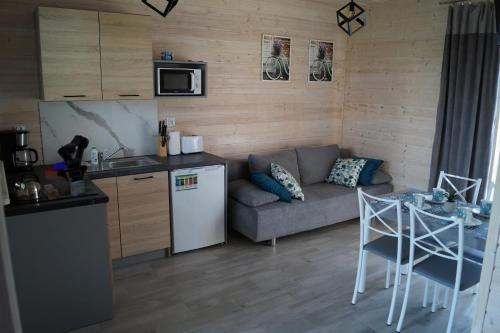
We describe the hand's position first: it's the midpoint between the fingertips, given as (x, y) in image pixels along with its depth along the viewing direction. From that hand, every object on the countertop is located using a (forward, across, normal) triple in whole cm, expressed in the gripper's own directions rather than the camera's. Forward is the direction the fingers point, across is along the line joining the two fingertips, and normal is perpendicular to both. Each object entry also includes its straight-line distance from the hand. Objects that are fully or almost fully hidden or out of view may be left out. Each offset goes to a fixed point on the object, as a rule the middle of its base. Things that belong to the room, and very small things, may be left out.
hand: (75, 180), depth 271 cm
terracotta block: (-2, -14, +15) cm, 21 cm away
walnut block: (+7, -15, +6) cm, 18 cm away
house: (-36, +7, +49) cm, 62 cm away
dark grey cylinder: (+2, -15, +11) cm, 18 cm away
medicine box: (+8, 0, +5) cm, 10 cm away
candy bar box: (-60, +28, +72) cm, 98 cm away
